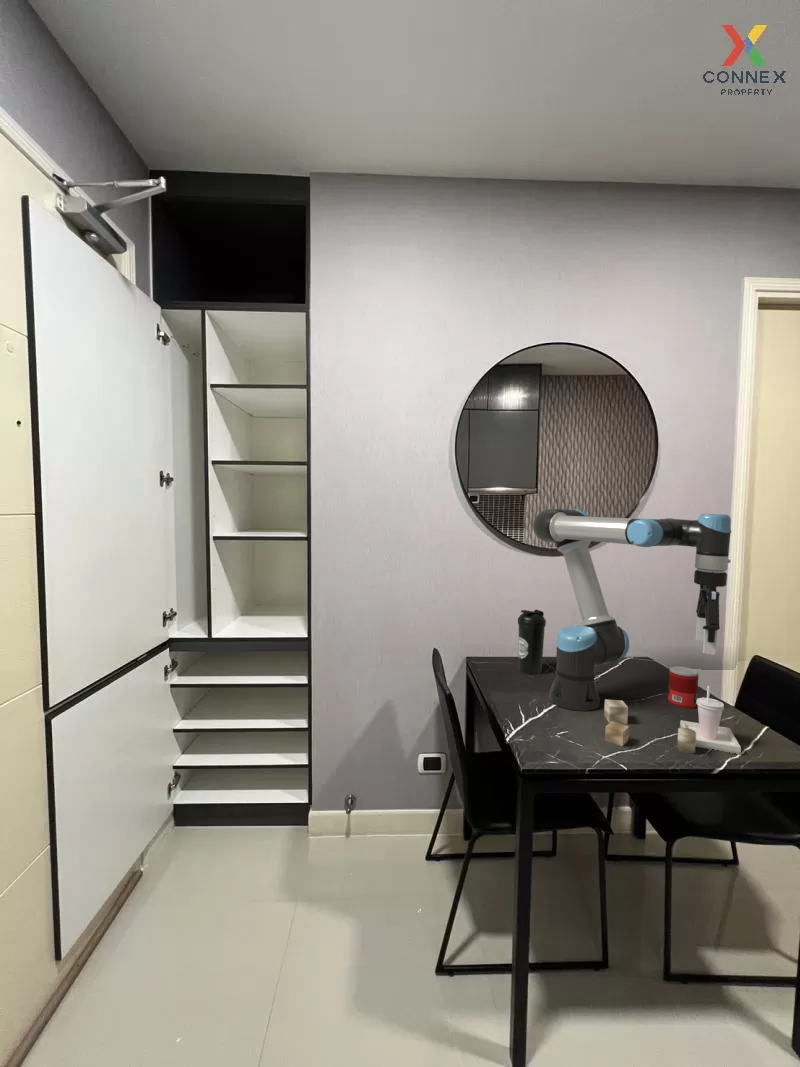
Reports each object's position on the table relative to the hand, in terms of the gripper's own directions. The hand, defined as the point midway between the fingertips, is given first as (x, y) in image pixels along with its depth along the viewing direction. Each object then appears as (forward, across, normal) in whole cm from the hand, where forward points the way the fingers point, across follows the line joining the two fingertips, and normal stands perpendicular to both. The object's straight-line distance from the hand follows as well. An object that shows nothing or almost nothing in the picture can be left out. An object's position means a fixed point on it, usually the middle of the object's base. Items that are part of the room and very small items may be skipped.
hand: (704, 646), depth 135 cm
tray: (+24, -4, -2) cm, 25 cm away
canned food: (+25, +21, +2) cm, 32 cm away
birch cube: (+25, -2, +21) cm, 33 cm away
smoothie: (+24, -4, -2) cm, 24 cm away
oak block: (+25, -16, +21) cm, 36 cm away
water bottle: (+26, +31, +51) cm, 65 cm away
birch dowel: (+24, -13, +4) cm, 28 cm away
